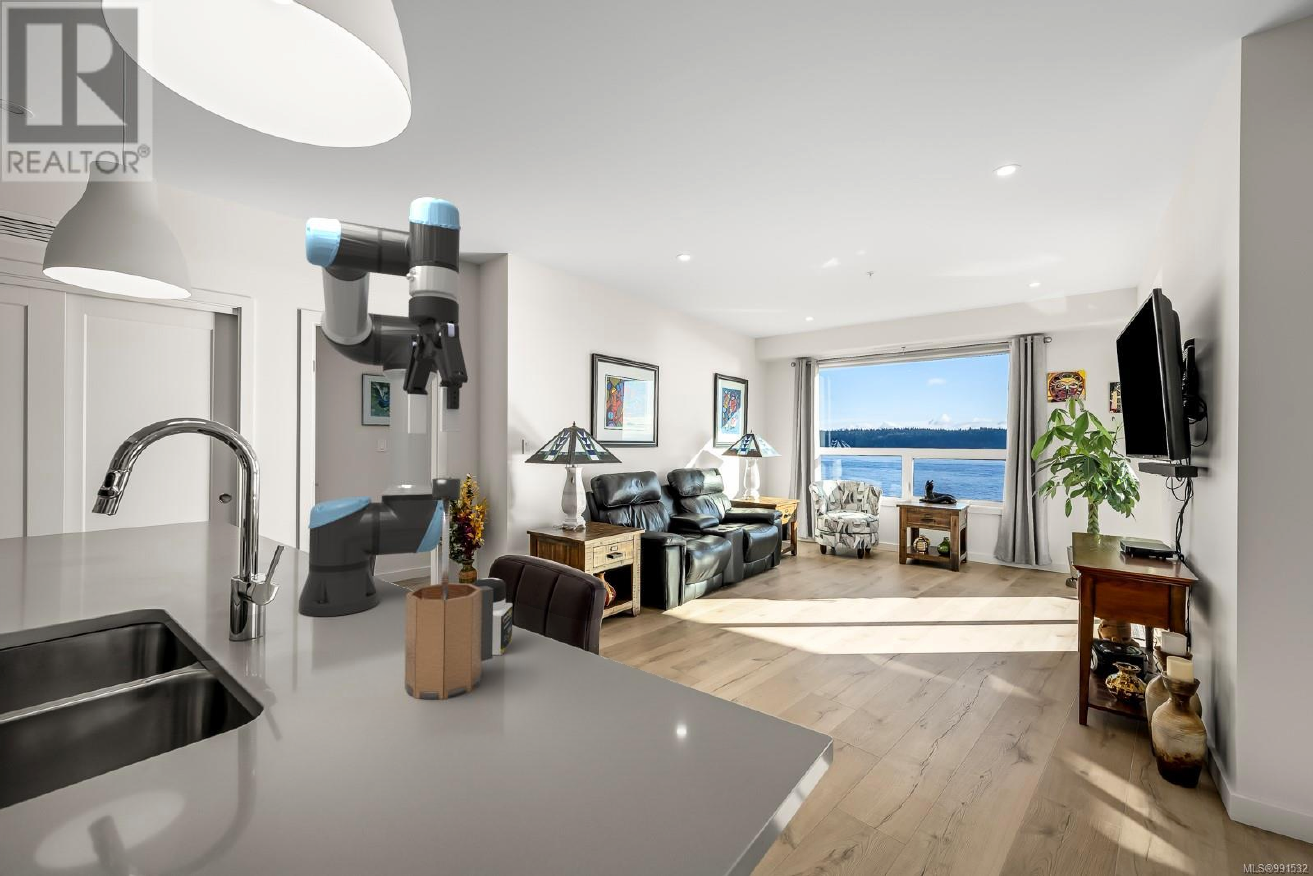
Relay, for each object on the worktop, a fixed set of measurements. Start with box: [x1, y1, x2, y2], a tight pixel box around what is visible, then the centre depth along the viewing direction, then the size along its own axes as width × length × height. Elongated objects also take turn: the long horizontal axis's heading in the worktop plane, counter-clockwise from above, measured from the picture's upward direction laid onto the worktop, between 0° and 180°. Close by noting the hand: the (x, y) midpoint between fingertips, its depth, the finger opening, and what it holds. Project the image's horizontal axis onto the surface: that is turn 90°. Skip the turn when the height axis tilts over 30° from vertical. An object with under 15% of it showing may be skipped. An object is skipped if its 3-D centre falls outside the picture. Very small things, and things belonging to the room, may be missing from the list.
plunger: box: [431, 477, 462, 600], centre depth 89 cm, size 8×8×22 cm
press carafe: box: [404, 582, 493, 701], centre depth 90 cm, size 10×12×14 cm
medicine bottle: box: [471, 577, 514, 656], centre depth 105 cm, size 7×7×12 cm
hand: (432, 432), depth 94 cm, fingers open, 13 cm apart
